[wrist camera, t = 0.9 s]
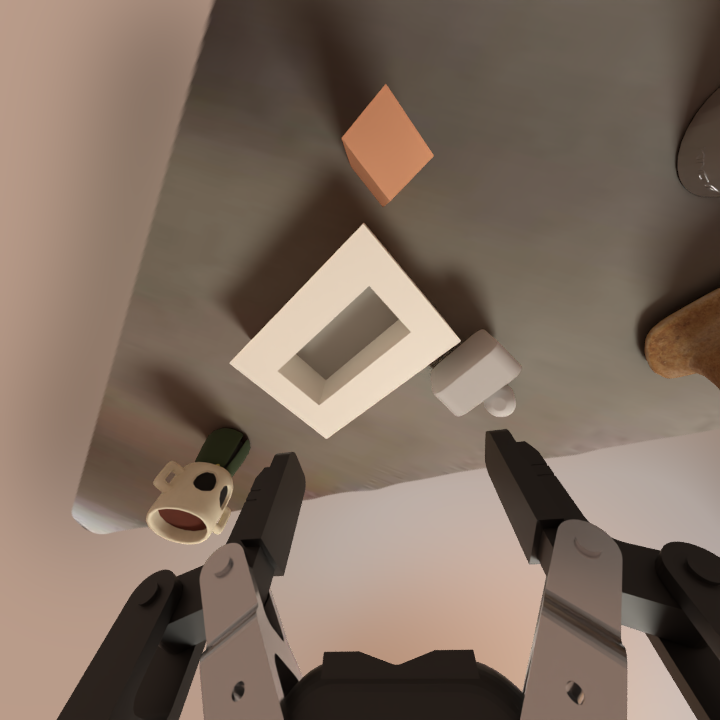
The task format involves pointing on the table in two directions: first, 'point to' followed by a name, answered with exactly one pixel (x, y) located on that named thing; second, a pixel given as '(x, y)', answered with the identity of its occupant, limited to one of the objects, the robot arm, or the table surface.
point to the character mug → (198, 490)
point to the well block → (346, 337)
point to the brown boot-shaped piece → (688, 341)
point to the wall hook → (476, 377)
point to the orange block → (385, 147)
